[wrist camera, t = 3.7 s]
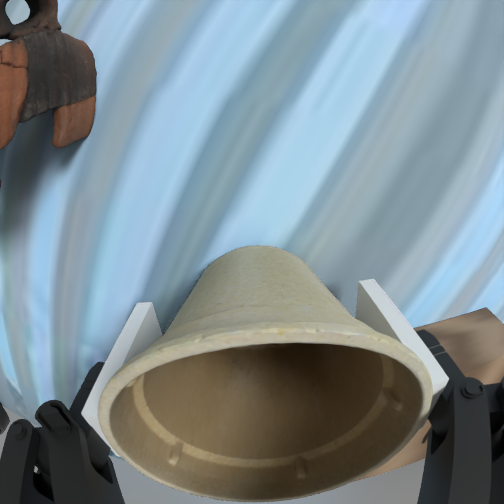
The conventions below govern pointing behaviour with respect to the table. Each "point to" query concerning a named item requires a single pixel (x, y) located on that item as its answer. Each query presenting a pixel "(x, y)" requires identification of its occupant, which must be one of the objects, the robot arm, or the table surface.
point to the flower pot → (264, 388)
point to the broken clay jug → (45, 75)
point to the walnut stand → (459, 366)
